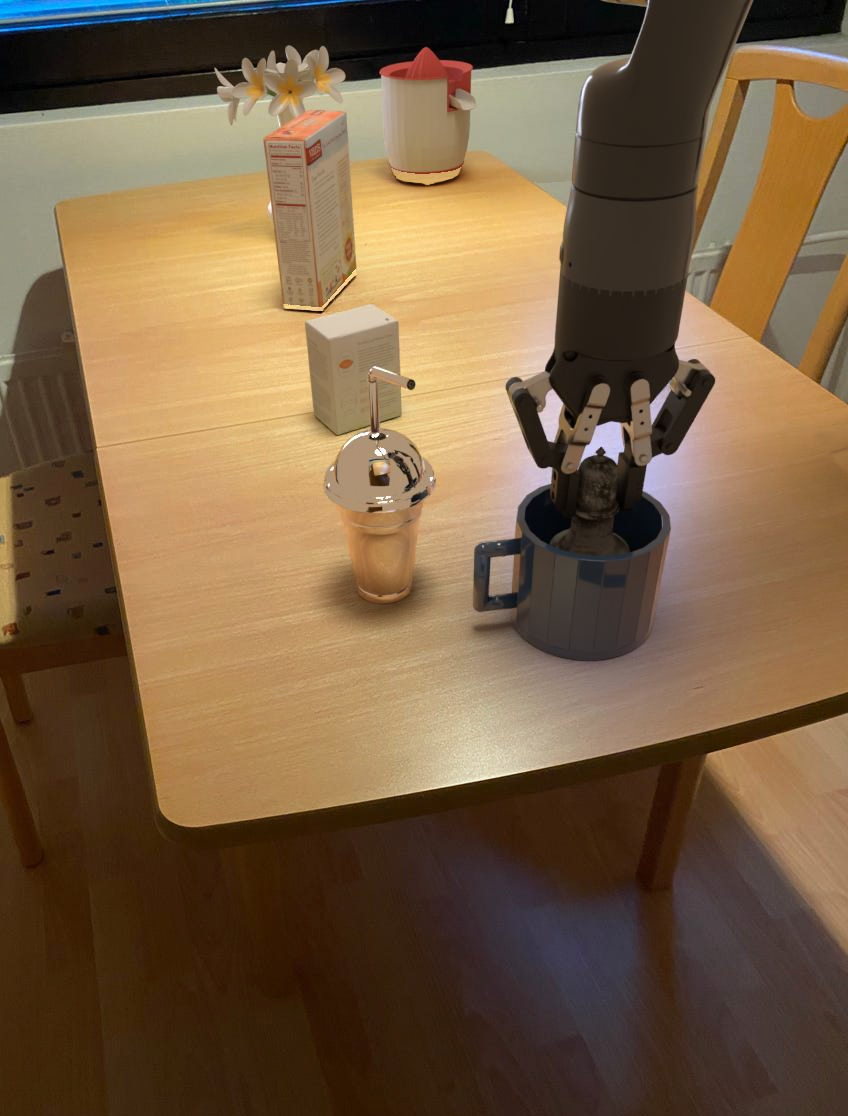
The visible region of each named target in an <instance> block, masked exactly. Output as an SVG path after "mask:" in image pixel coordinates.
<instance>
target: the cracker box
mask: <svg viewBox="0 0 848 1116" xmlns="http://www.w3.org/2000/svg"><path fill="white" fill-rule="evenodd" d="M347 115H348V114H347V111H344V110H324V109H309V110H305V112H304V113H303V114H301V115H300V116H298V117H296V118H295V119H293V120H292V121H290V122H289V123H287V124H285V125H284V126H282V127H281V128H280V127H279V128H278V129H276V130H274V131H273V132H271V133H269V134H268V135H266V136H264V138H262V139H263V148H264V156H265V166H266V172H267V181H268V189H269V198H270V201H271V207H272V216H273V224H274V226H273V231H274V241H275V249H276V258H277V265H278V272H279V282H280V283H279V284H280V290H281V301H282V305H283V304H288V305H289V304H290V305H300V306H311V307H322V306H323V305H324V304H325V303H326V302H327V301H328V299H330V297H331V296H332V295H333V294H334V293H335V292H336V291H337V289H338V288H339V287H340V286H341V285H342V284H343V283H344V282H345V280H346V279H347V278H348V277H349V276H350V275H351V274H352V272H353V271H354V270H355V269H357V257H356V239H355V225H354V224H355V223H354V208H353V193H352V179H351V162H350V149H349V147H350V145H349V132H348V131H349V130H348V121H347V120H348V117H347ZM273 224H272V225H273Z"/></svg>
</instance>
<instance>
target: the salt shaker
mask: <svg viewBox="0 0 848 1116" xmlns="http://www.w3.org/2000/svg"><path fill="white" fill-rule="evenodd" d="M606 453H607V452H606V450H605V449H604V447H603V446H600V447H599V448H597V450H595V454H593V455H590V456H587V457H585V458H584V459H583V460H581V461H580V464H579V467H578V471H579V473H580V478H579V487H578V496H577V506H576V515H575V517H572V521H571V527H570V529H567V530H564V531H562V532H560V533H558V534H557V535H555V536H554V537H553V539H552V540H551V541H550V544H549V545H551V546H553V547H555V548H557V549H559V550H563V551H567V552H571V553H575V554H579V555H589V556H612V555H620V554H627V553H630V550H629V546H628V545H627V543H626V542H625V540H623V539H622V538H621V537H620V536H619V535H617V534H615V533H613V530H612V529H613V522H614V515H616V514H617V513H618V512H619V509H620V504H619V502H618V500H617V499H616V492H617V485H618V477H619V468H618V465H617V463H616V461H615V460H614V459H612V458H611V457H609V456H607V455H605V454H606Z"/></svg>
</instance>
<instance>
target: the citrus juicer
mask: <svg viewBox="0 0 848 1116" xmlns="http://www.w3.org/2000/svg"><path fill="white" fill-rule="evenodd" d="M473 70H474V67H473V65H472V64H470V63H467V62H464V61H458V60H448V59H446V60H445V59H439V58H438V57H437V55H436V54H435V53H434V52H433V51H432V50H431V48H429V47H427V46H425V47H423V48H422V49H421V50H420V51H419V52H418V54H417V55H416V57H415V58H414V59H413V61H404V62H398V63H393V64H389V65H386V66H385V67H382V68H381V69H380V70H379V75H380V79H381V81H380V82H381V109H382V112H381V113H382V133H383V142H384V148H385V153H386V156H387V159H388V162H389V167H391V168H393V169H395V170H398V171H401V172H407V173H415V174H430V173H441V172H448V171H453V170H456V169H458V168H460V167H462V168H463V166H464V164H465V158H466V154H467V151H468V146H469V140H470V132H471V131H470V130H471V110H474V109H475V108H476V105H477V103H476V98H475V96H474V95H473V94H472V71H473ZM462 165H463V166H462ZM391 168H390V169H391Z"/></svg>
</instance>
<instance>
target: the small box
mask: <svg viewBox="0 0 848 1116" xmlns="http://www.w3.org/2000/svg"><path fill="white" fill-rule="evenodd" d="M399 323H400V322H399V320H398V319H396V318H395V317H393V316H392V315H390V314H389V313H388V312H385V311H384V310H383V309H381V308H380V307H378V306H377V305H375V304H374V303H368V304H365V305H361V306H358V307H354V308H349V309H345V310H342V311H339V312H335V313H331V314H327V315H323V316H319V317H315V318H311V319H308V320H305V321H304V329H305V341H306V349H307V358H308V370H309V381H310V388H311V391H310V392H311V399H312V400H311V401H312V408H313V410H312V411H313V416H315V418H317V419H318V420H319V421H320V422H322V423H323V425H325V427H327V428H328V429H329V430H330V431H332V433H333V434H334V435H336V436H339V435H342V434H345V433H348V432H353V431H356V430H358V429H362V428H365V427H368V426H370V411H369V391H368V373H369V370H370V369H371V368H373V367H375V366H376V367H379V368H382V369H385V370H388V371H390V372H393V373H396V374H399V375H401V357H400V355H401V352H400V327H399ZM378 397H379V419H380V423H381V422H385V421H388V420H391V419H395V418H398V417H401V416H402V413H403V411H402V409H403V408H402V407H403V406H402V387H401V386H398V385H395V384H393V383H390V382H387V381H385V380H382V379H380V378H378Z"/></svg>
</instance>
